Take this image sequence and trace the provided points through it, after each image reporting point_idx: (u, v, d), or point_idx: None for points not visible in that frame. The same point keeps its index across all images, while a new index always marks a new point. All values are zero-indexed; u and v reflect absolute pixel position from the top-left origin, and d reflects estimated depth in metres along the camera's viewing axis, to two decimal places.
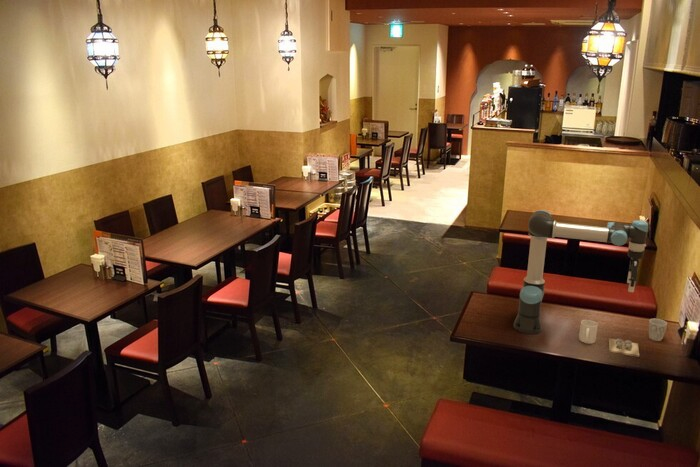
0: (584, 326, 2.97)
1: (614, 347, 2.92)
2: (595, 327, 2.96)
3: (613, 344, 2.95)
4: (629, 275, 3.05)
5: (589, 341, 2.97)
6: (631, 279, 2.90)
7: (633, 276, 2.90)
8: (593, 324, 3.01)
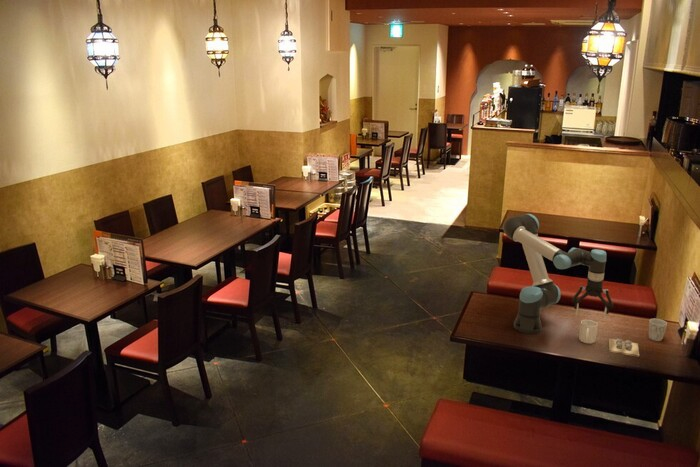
0: (584, 326, 2.97)
1: (614, 347, 2.92)
2: (595, 327, 2.96)
3: (613, 344, 2.95)
4: None
5: (589, 341, 2.97)
6: None
7: (573, 297, 2.97)
8: (593, 324, 3.01)
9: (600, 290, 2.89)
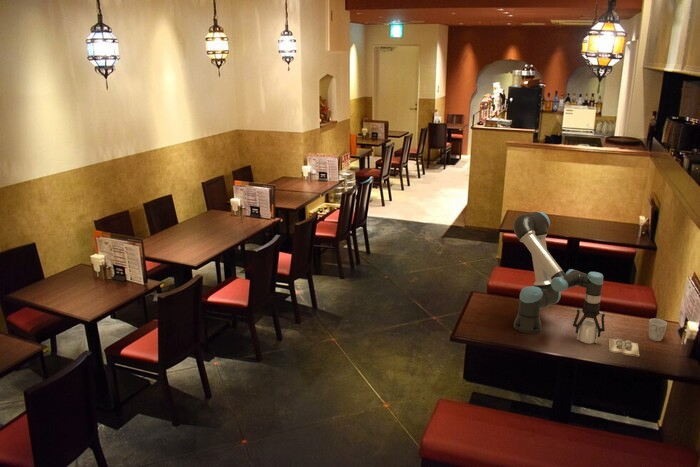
0: (584, 326, 2.97)
1: (614, 347, 2.92)
2: (595, 327, 2.96)
3: (613, 344, 2.95)
4: (596, 333, 2.98)
5: (589, 341, 2.97)
6: (573, 323, 3.01)
7: (574, 321, 3.00)
8: (592, 324, 3.01)
9: (597, 312, 2.93)
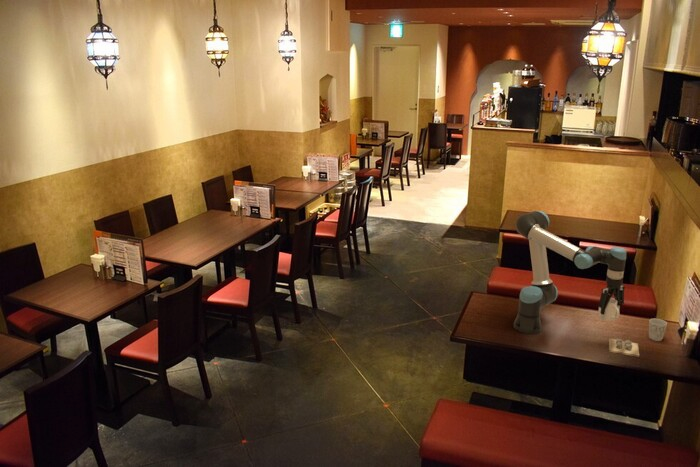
0: (610, 304, 2.87)
1: (614, 347, 2.92)
2: None
3: (613, 344, 2.95)
4: None
5: None
6: (598, 306, 2.88)
7: (600, 303, 2.87)
8: None
9: (619, 286, 2.87)
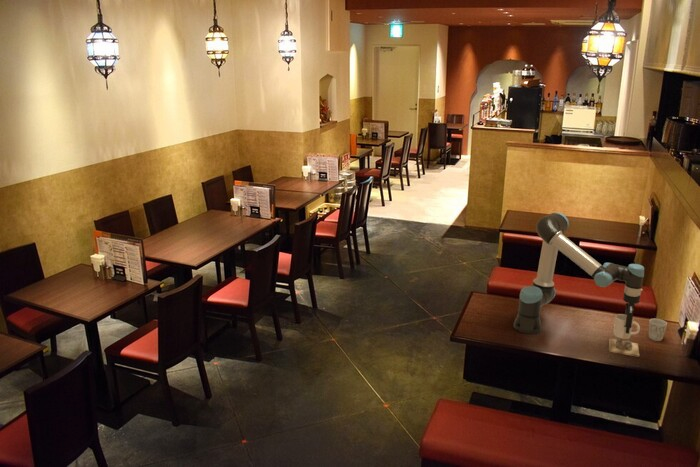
0: None
1: (614, 347, 2.92)
2: None
3: (613, 344, 2.95)
4: None
5: None
6: (626, 326, 2.82)
7: (628, 323, 2.82)
8: (616, 318, 2.93)
9: None
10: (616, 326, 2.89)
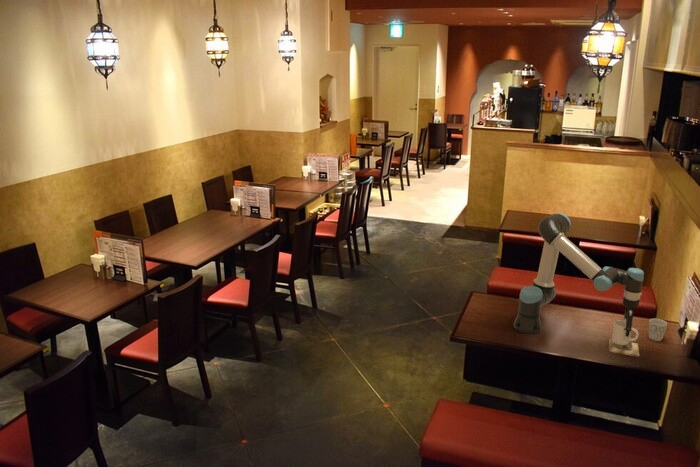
0: None
1: (614, 347, 2.92)
2: None
3: (613, 344, 2.95)
4: None
5: None
6: (626, 329, 2.81)
7: (628, 326, 2.80)
8: None
9: None
10: (615, 332, 2.91)
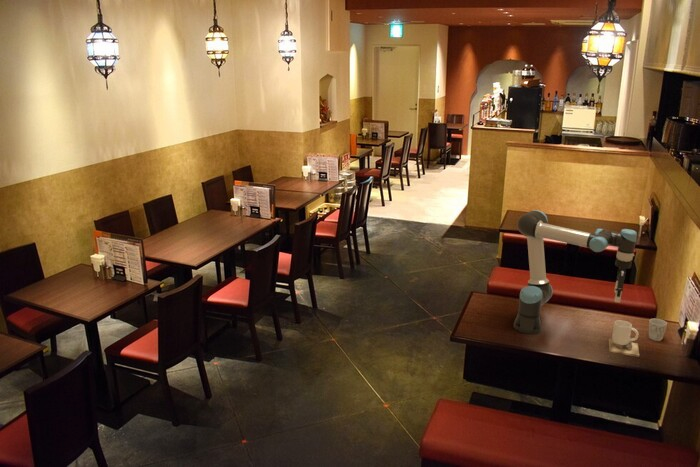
0: (630, 328, 2.87)
1: (614, 347, 2.92)
2: None
3: (613, 344, 2.95)
4: (616, 284, 2.98)
5: None
6: (617, 289, 2.83)
7: (619, 286, 2.83)
8: None
9: None
10: (615, 332, 2.91)
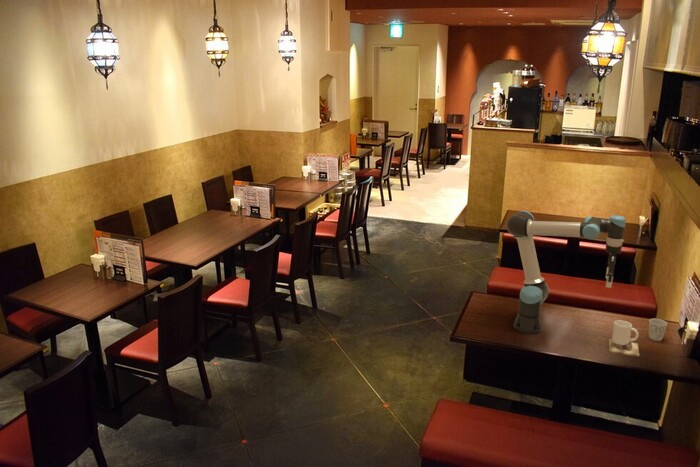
0: (630, 328, 2.87)
1: (614, 347, 2.92)
2: None
3: (613, 344, 2.95)
4: (607, 270, 3.04)
5: None
6: (608, 274, 2.89)
7: (610, 271, 2.88)
8: None
9: None
10: (615, 332, 2.91)
